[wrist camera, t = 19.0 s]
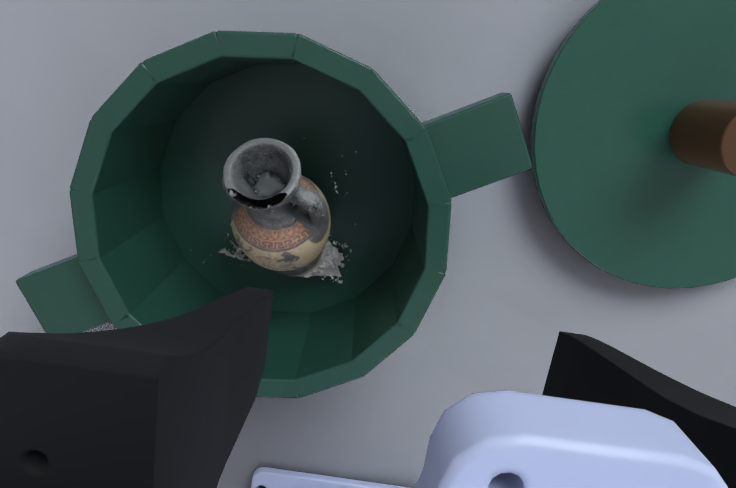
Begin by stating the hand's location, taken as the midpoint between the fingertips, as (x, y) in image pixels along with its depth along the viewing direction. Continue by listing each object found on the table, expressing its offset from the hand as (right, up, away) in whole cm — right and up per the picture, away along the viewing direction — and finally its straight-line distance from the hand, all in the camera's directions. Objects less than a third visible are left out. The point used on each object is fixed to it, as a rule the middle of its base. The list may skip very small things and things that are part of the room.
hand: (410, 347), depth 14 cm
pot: (-4, +5, +9) cm, 11 cm away
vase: (-4, +5, +9) cm, 11 cm away
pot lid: (+11, +7, +7) cm, 15 cm away
